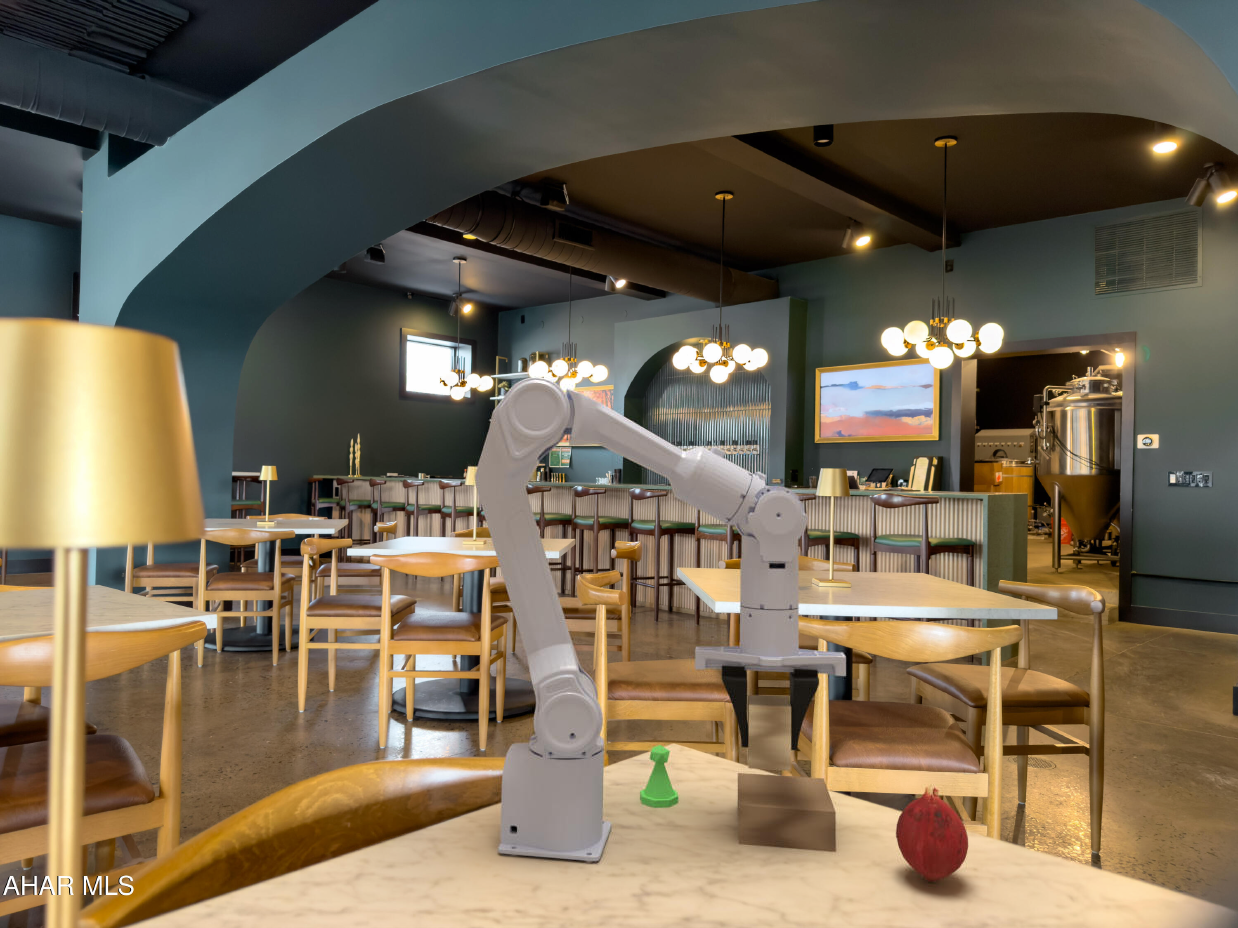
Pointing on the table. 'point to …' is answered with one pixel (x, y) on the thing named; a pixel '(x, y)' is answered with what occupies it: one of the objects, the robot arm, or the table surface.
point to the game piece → (659, 782)
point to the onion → (932, 836)
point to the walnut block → (785, 812)
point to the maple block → (769, 732)
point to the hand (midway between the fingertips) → (768, 745)
